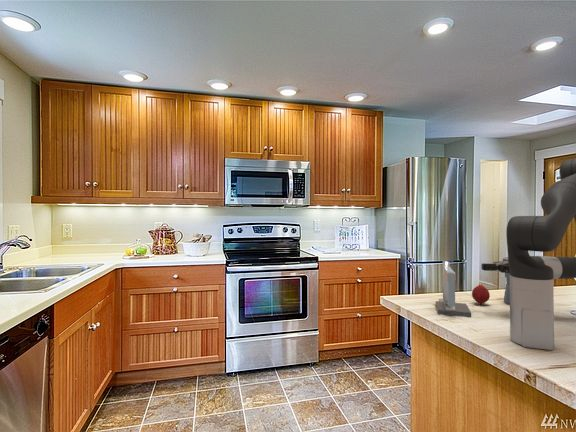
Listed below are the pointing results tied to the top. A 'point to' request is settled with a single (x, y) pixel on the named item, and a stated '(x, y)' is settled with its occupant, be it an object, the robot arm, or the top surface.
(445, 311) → the grey flat base plate
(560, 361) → the top surface
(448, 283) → the grey standing sign
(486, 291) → the onion
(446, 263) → the hinge post
